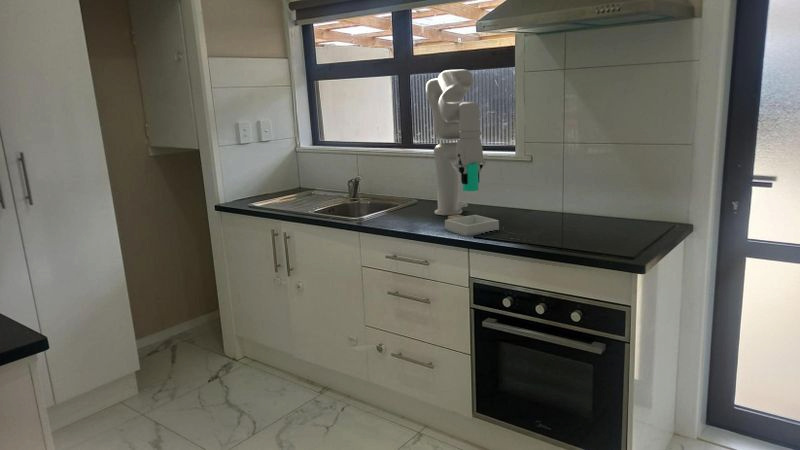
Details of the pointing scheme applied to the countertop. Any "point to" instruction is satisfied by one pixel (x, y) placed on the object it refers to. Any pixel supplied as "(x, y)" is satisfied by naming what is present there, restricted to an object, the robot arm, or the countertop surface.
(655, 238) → the countertop surface
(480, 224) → the bin
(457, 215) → the oak block
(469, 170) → the candle
